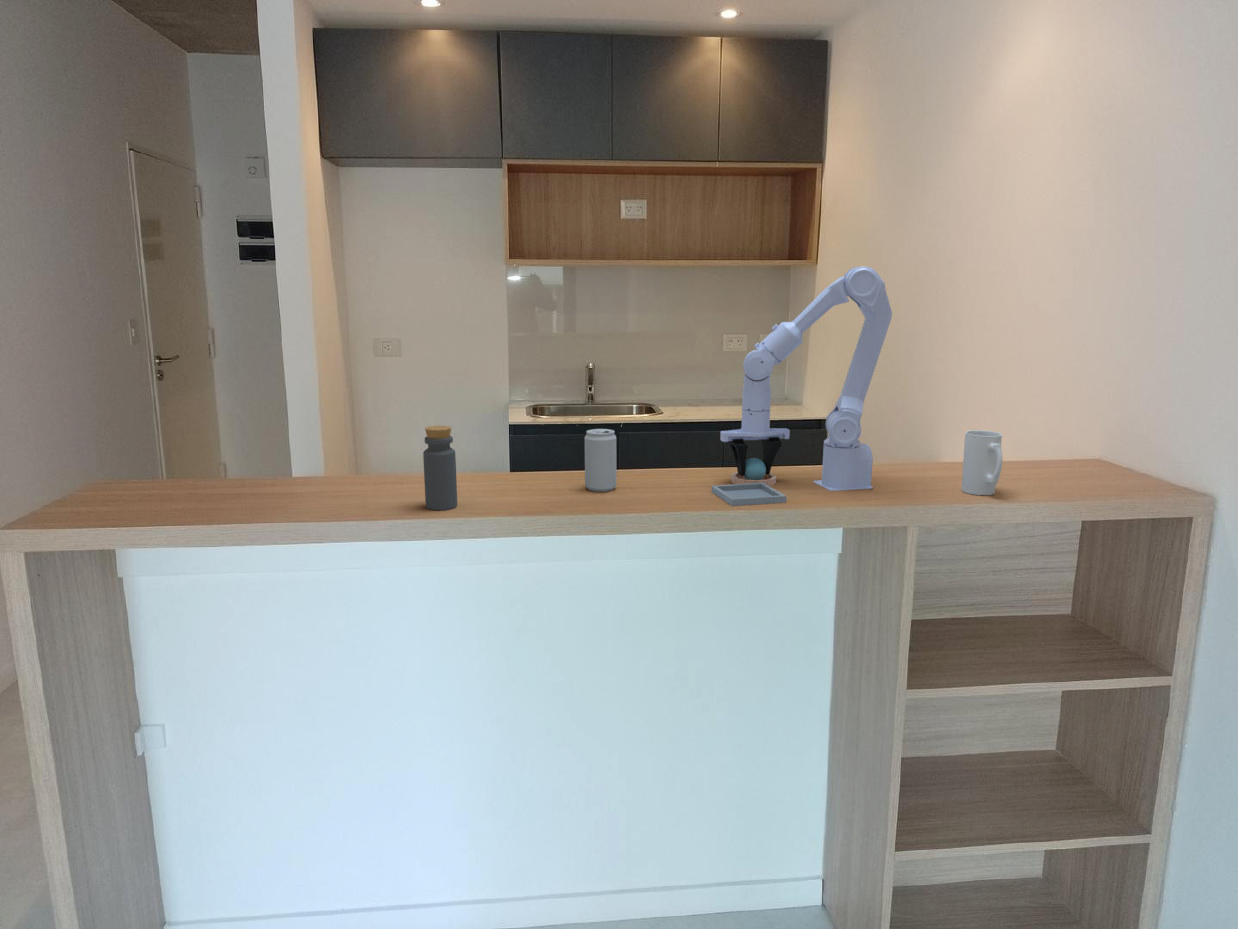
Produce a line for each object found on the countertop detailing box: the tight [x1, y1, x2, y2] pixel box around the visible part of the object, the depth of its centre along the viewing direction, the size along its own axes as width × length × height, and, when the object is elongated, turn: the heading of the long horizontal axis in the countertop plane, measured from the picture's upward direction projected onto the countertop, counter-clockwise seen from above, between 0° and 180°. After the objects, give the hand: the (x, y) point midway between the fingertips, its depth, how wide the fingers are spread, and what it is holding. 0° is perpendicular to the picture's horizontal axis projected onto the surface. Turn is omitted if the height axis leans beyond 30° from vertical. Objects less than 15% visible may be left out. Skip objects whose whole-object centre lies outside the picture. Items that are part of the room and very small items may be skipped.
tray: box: [710, 483, 787, 507], centre depth 168 cm, size 11×11×2 cm
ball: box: [744, 457, 766, 480], centre depth 180 cm, size 5×5×5 cm
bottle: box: [422, 425, 458, 511], centre depth 161 cm, size 6×6×15 cm
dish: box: [730, 471, 777, 487], centre depth 180 cm, size 9×9×2 cm
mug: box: [961, 429, 1003, 496], centre depth 171 cm, size 10×7×12 cm, turn 9°
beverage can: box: [584, 428, 617, 493], centre depth 174 cm, size 6×6×12 cm
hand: (753, 474), depth 180 cm, fingers closed on ball, 5 cm apart
